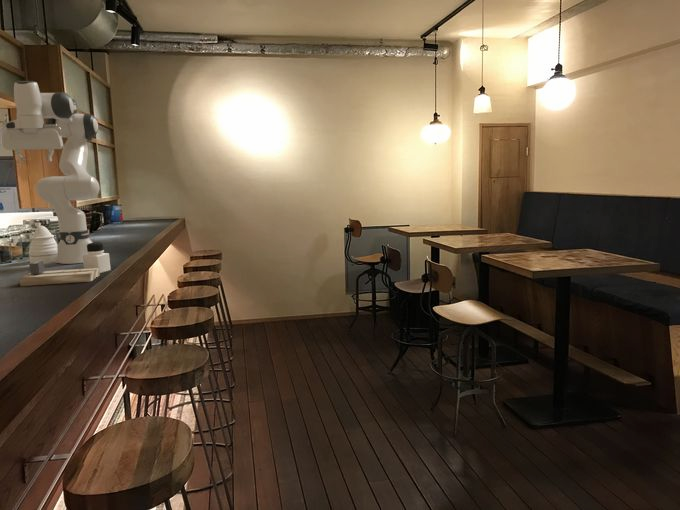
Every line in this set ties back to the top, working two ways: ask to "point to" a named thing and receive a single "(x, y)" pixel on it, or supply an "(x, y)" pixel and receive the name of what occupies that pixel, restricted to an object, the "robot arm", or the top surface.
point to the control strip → (60, 276)
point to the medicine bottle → (96, 257)
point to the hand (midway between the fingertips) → (35, 161)
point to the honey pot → (43, 246)
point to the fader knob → (37, 267)
